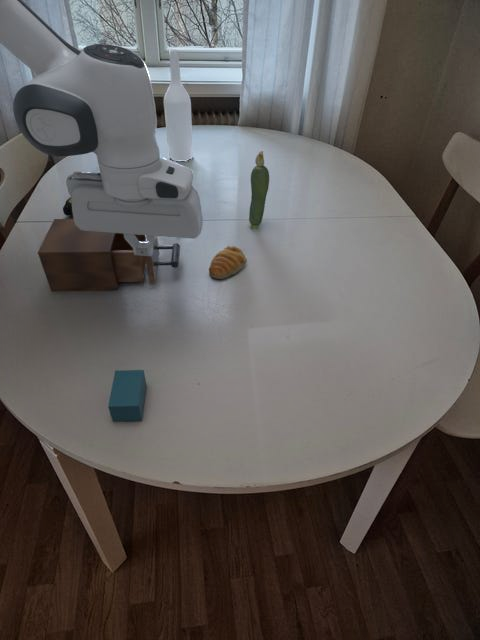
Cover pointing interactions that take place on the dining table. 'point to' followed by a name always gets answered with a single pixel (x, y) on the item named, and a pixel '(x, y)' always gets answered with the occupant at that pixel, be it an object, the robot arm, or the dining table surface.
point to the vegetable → (258, 191)
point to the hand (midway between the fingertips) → (144, 253)
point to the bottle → (178, 114)
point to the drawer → (139, 260)
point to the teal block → (127, 395)
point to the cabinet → (77, 258)
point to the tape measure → (68, 207)
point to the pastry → (227, 262)
